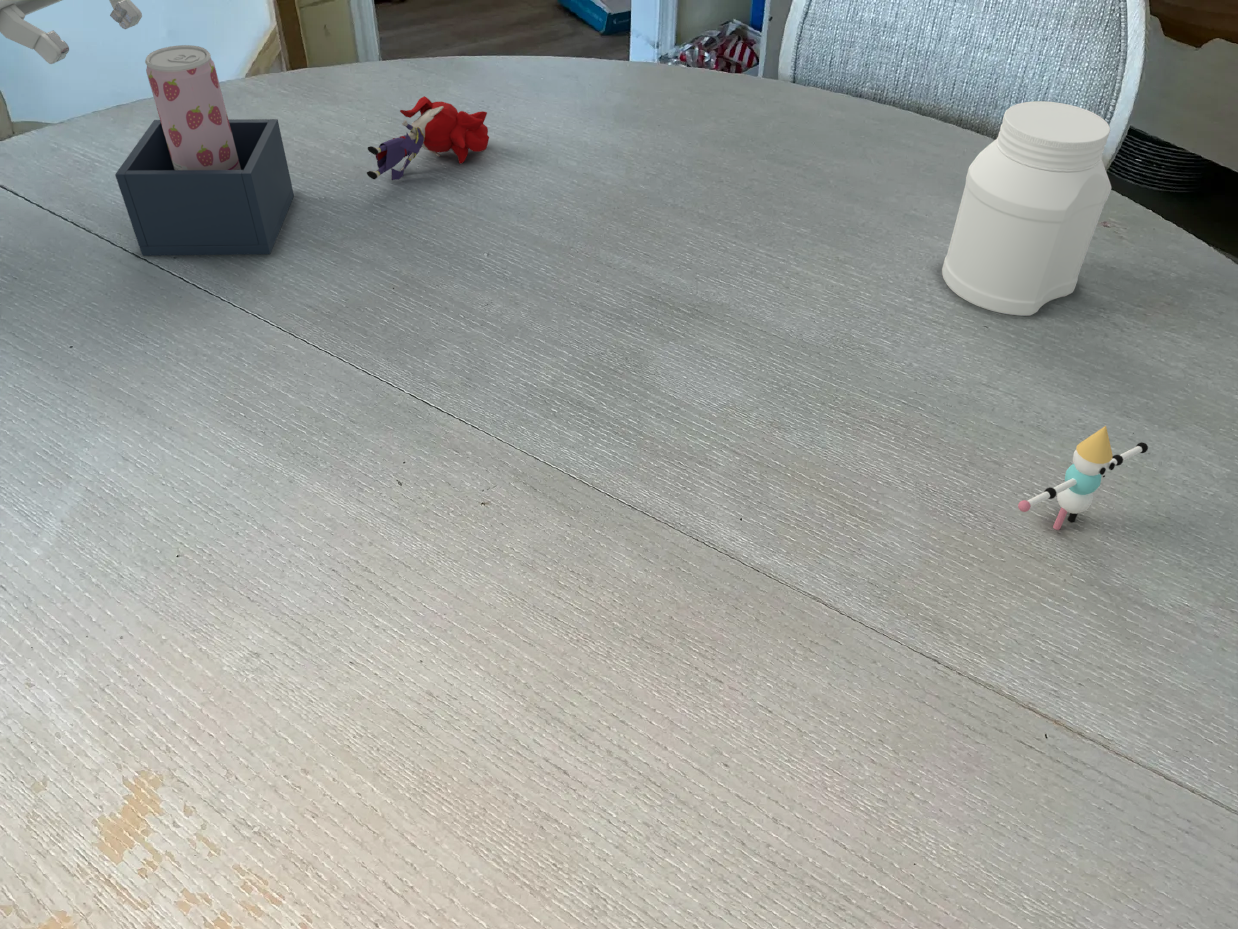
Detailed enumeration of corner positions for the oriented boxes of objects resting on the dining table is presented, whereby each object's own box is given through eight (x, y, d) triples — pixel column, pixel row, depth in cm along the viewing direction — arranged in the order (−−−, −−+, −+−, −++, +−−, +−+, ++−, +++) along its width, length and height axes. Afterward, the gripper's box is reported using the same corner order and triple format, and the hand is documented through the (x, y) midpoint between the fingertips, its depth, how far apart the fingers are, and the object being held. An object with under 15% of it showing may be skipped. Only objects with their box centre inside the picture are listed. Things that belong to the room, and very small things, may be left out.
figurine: (347, 176, 104) (438, 127, 113) (411, 213, 102) (499, 160, 112) (347, 120, 99) (443, 73, 109) (415, 157, 97) (506, 107, 107)
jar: (1012, 326, 86) (1067, 160, 76) (923, 278, 92) (963, 118, 82) (1089, 284, 92) (1150, 123, 82) (1001, 241, 97) (1048, 86, 87)
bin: (142, 256, 93) (114, 174, 87) (177, 196, 101) (154, 119, 96) (270, 254, 93) (250, 173, 88) (294, 196, 102) (277, 118, 97)
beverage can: (252, 225, 95) (211, 64, 85) (188, 232, 94) (140, 70, 84) (250, 197, 99) (212, 41, 89) (189, 204, 98) (143, 46, 88)
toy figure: (1017, 569, 65) (1058, 469, 60) (988, 545, 67) (1025, 445, 61) (1139, 505, 70) (1187, 406, 64) (1109, 483, 72) (1154, 386, 66)
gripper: (-135, -99, 74) (24, 55, 78) (61, -149, 89) (186, -18, 93) (-154, -40, 78) (-2, 104, 82) (37, -97, 93) (157, 27, 97)
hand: (99, 39), depth 88 cm, fingers open, 8 cm apart
